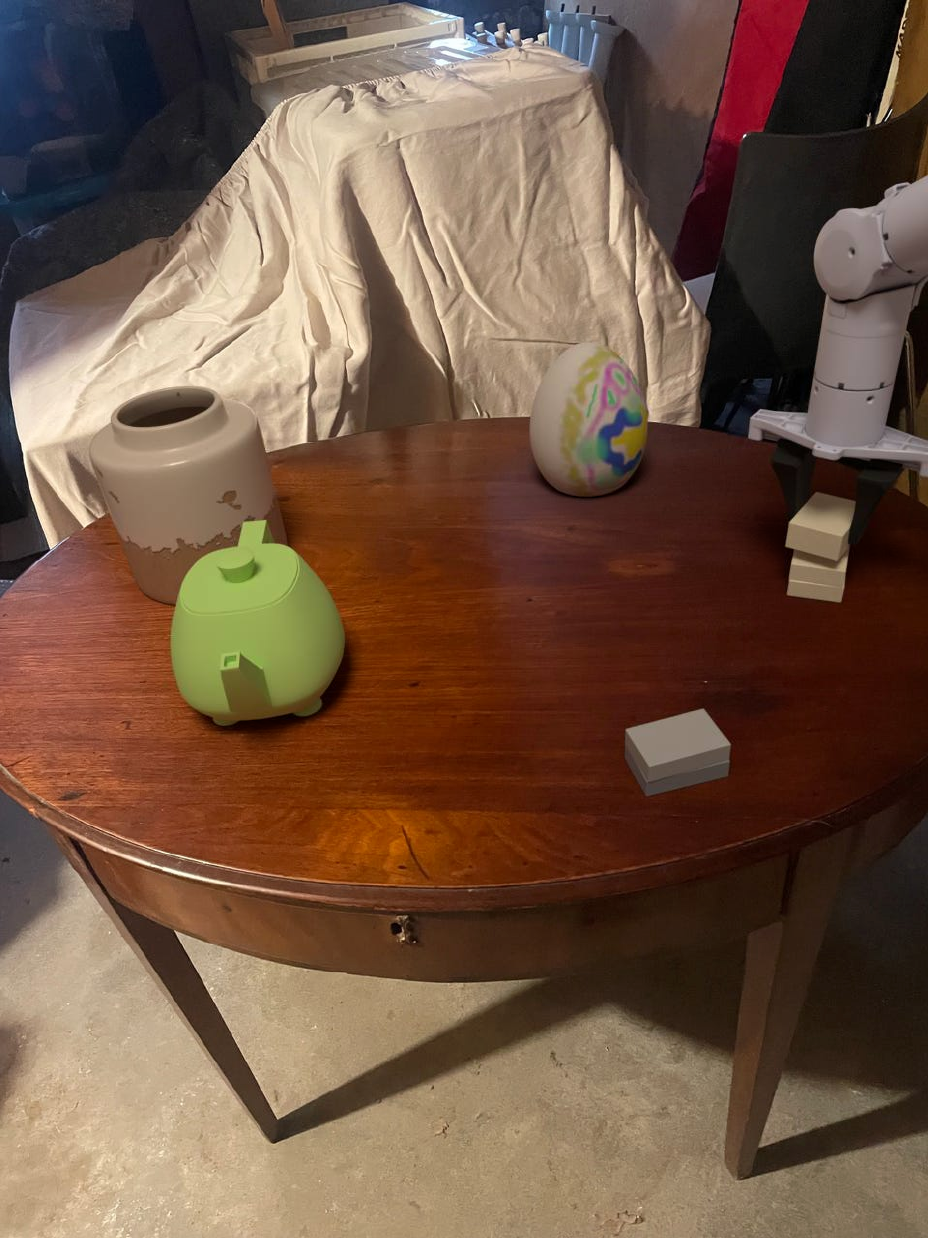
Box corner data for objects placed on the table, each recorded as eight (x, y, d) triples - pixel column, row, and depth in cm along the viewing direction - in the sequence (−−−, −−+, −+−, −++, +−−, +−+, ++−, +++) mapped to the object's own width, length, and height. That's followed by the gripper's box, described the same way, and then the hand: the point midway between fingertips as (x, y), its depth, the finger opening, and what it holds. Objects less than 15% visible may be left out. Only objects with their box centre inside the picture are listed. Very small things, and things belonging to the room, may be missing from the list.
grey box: (702, 738, 63) (705, 707, 61) (728, 777, 60) (733, 746, 58) (623, 757, 62) (624, 726, 60) (645, 798, 59) (647, 767, 57)
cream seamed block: (792, 558, 80) (797, 528, 78) (845, 565, 79) (851, 534, 77) (785, 595, 76) (790, 564, 74) (841, 603, 74) (848, 572, 72)
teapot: (349, 764, 64) (317, 627, 56) (166, 786, 64) (109, 651, 56) (354, 606, 80) (330, 483, 73) (208, 623, 80) (168, 502, 72)
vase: (113, 563, 90) (54, 410, 80) (246, 508, 97) (207, 361, 87) (173, 628, 80) (114, 461, 70) (317, 561, 87) (282, 401, 77)
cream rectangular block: (811, 515, 78) (816, 491, 76) (862, 528, 75) (868, 503, 74) (784, 546, 74) (788, 522, 72) (837, 561, 72) (842, 536, 70)
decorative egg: (592, 519, 89) (593, 377, 80) (508, 483, 96) (500, 349, 87) (668, 475, 95) (676, 338, 86) (583, 444, 102) (583, 315, 94)
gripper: (739, 378, 68) (723, 529, 76) (941, 414, 60) (899, 579, 68) (776, 348, 72) (757, 495, 80) (969, 378, 64) (927, 537, 72)
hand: (825, 531), depth 74 cm, fingers closed on cream rectangular block, 4 cm apart
